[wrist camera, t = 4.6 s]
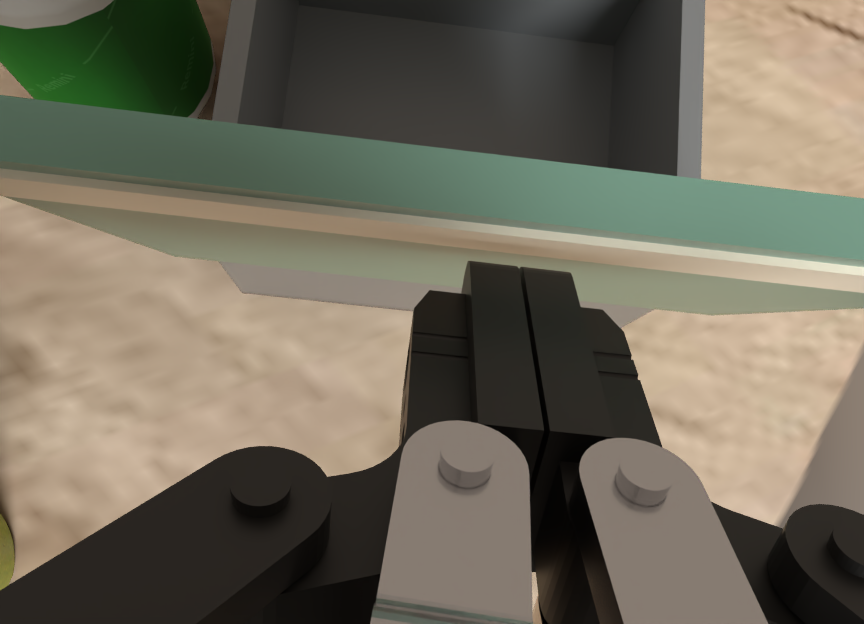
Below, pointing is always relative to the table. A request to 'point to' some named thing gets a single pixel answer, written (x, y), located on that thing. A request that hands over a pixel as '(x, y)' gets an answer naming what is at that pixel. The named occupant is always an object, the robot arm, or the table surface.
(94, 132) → the lid
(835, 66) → the table surface
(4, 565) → the plant pot
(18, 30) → the soda can
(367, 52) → the storage box
